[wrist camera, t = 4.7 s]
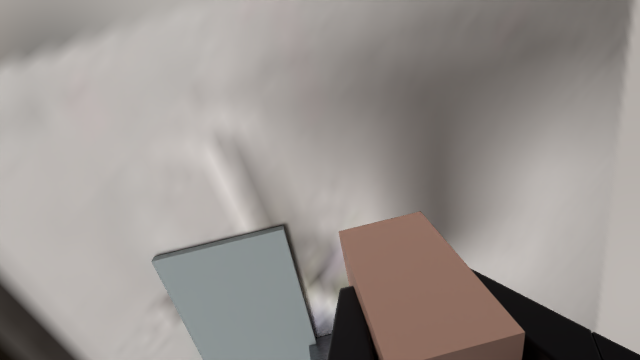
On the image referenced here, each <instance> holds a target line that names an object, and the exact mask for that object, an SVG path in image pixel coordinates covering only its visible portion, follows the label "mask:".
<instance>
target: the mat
mask: <svg viewBox="0 0 640 360" xmlns="http://www.w3.org/2000/svg"><path fill="white" fill-rule="evenodd" d="M152 263H153V265H154V267H155V269H156V271H157V273H158V275H159V277H160V279H161V281H162V283H163V284H164V286H165V288H166V290H167V292H168V294H169V296H170V298H171V300H172V302H173V303H174V305H175V307H176V309H177V311H178V313H179V315H180V317H181V319H182V321H183V322H184V324H185V326H186V328H187V330H188V332H189V334H190V336H191V338H192V340H193V342H194V343H195V345H196V347H197V349H198V351H199V353H200V355H201V357H202V359H203V360H310V352H309V345H313V344H316V339H315V335H314V332H313V328H312V325H311V321H310V318H309V314H308V311H307V307H306V304H305V300H304V297H303V293H302V290H301V286H300V283H299V279H298V276H297V272H296V269H295V265H294V262H293V258H292V255H291V251H290V248H289V244H288V241H287V237H286V234H285V230H284V227H283V226H279V227H275V228H271V229H267V230H262V231H258V232H254V233H250V234H246V235H242V236H238V237H234V238H230V239H225V240H221V241H217V242H213V243H209V244H205V245H201V246H197V247H192V248H188V249H184V250H180V251H176V252H172V253H168V254H164V255H159V256H155V257H154V258H153V260H152Z"/></svg>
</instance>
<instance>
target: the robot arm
mask: <svg viewBox="0 0 640 360" xmlns="http://www.w3.org/2000/svg"><path fill="white" fill-rule="evenodd" d="M470 269H471V268H470ZM471 270H472V269H471ZM472 272H473V273H474V274H475V275H476V276H477V277H478V278H479V280H480V281H481V282H482V283H483V284H484V285H485V286H486V288H487V289H488V290H489V291H490V292H491V293H492V295H493V296H494V297H495V298H496V299H497V300H498V301H499V303H500V304H501V305H502V306H503V307H504V308H505V310H506V311H507V312H508V313H509V314H510V315H511V316H512V318H513V319H514V320H515V321H516V322H517V323H518V325H519V326H520V327H521V328H522V329H523V330H524V331H525V338H524V346H523V354H522V360H640V355H639V354H637V353H635V352H633V351H631V350H629V349H627V348H625V347H623V346H621V345H619V344H617V343H615V342H613V341H611V340H609V339H607V338H605V337H603V336H601V335H599V334H597V333H595V332H592V333H591V331H590V330H589V329H587V328H585V327H583V326H581V325H580V324H578V323H576V322H574V321H572V320H570V319H568V318H566V317H564V316H562V315H560V314H558V313H556V312H554V311H552V310H550V309H548V308H546V307H544V306H543V305H541V304H539V303H537V302H535V301H533V300H531V299H529V298H527V297H525V296H523V295H521V294H519V293H517V292H515V291H513V290H511V289H509V288H507V287H506V286H504V285H502V284H500V283H498V282H496V281H494V280H492V279H490V278H488V277H486V276H484V275H482V274H480V273H478V272H476V271H474V270H472ZM327 360H374V355H373V349H372V343H371V338H370V332H369V328H368V325H367V322H366V319H365V316H364V313H363V311H362V308H361V305H360V303H359V300H358V297H357V294H356V292H355V289H354V287H353V286H349V287H345V288H341V289H340V292H339V297H338V303H337V308H336V314H335V319H334V325H333V330H332V335H331V341H330V346H329V352H328V357H327Z"/></svg>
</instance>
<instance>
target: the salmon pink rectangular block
mask: <svg viewBox="0 0 640 360" xmlns="http://www.w3.org/2000/svg"><path fill="white" fill-rule="evenodd" d="M339 236H340V241H341V246H342V251H343V256H344V261H345V266H346V271H347V276H348V281H349V286H353V287H354V289H355V292H356V294H357V297H358V300H359V303H360V305H361V308H362V311H363V313H364V316H365V319H366V322H367V325H368V328H369V332H370V338H371V343H372V349H373V355H374V360H522V354H523V346H524V338H525V331H524V330H523V329H522V328H521V327H520V326H519V325H518V323H517V322H516V321H515V320H514V319H513V318H512V316H511V315H510V314H509V313H508V312H507V311H506V310H505V308H504V307H503V306H502V305H501V304H500V303H499V301H498V300H497V299H496V298H495V297H494V296H493V295H492V293H491V292H490V291H489V290H488V289H487V288H486V286H485V285H484V284H483V283H482V282H481V281H480V280H479V278H478V277H477V276H476V275H475V274H474V273H473V272H472V270H471V269H470V268H469V267H468V266H467V265H466V263H465V262H464V261H463V260H462V259H461V258H460V257H459V255H458V254H457V253H456V252H455V251H454V250H453V248H452V247H451V246H450V245H449V244H448V243H447V242H446V240H445V239H444V238H443V237H442V236H441V235H440V233H439V232H438V231H437V230H436V229H435V228H434V227H433V225H432V224H431V223H430V222H429V221H428V220H427V218H426V217H425V216H424V215H423V214H422V213H421V212H416V213H412V214H408V215H403V216H399V217H395V218H391V219H387V220H383V221H379V222H375V223H371V224H367V225H363V226H359V227H355V228H351V229H347V230H343V231H339Z"/></svg>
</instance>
